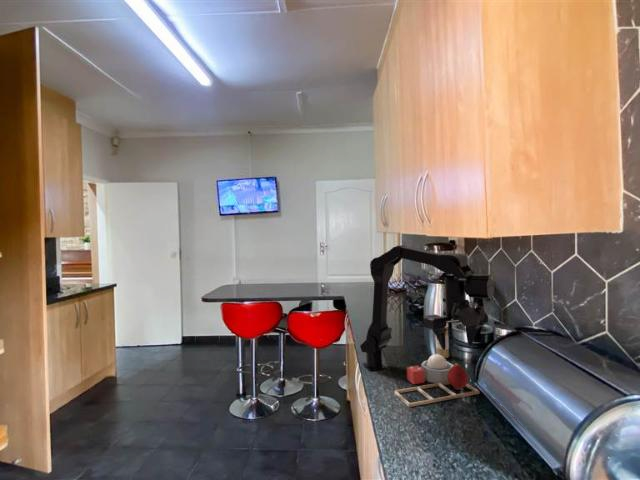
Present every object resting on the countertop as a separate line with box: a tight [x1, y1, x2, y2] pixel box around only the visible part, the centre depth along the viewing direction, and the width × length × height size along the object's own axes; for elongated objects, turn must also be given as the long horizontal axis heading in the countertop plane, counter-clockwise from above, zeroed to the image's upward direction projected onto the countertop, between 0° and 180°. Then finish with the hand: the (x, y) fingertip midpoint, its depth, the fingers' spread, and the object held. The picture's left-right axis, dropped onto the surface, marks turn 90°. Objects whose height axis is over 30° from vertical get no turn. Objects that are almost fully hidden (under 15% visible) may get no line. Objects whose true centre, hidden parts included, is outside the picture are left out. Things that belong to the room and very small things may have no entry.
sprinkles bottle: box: [435, 323, 450, 359], centre depth 138 cm, size 5×5×13 cm
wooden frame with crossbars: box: [393, 381, 480, 408], centre depth 108 cm, size 9×23×1 cm, turn 105°
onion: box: [447, 362, 469, 391], centre depth 110 cm, size 6×6×8 cm
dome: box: [426, 353, 449, 370], centre depth 119 cm, size 7×7×6 cm
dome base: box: [406, 359, 455, 385], centre depth 119 cm, size 10×15×4 cm, turn 105°
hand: (457, 347), depth 110 cm, fingers open, 9 cm apart
